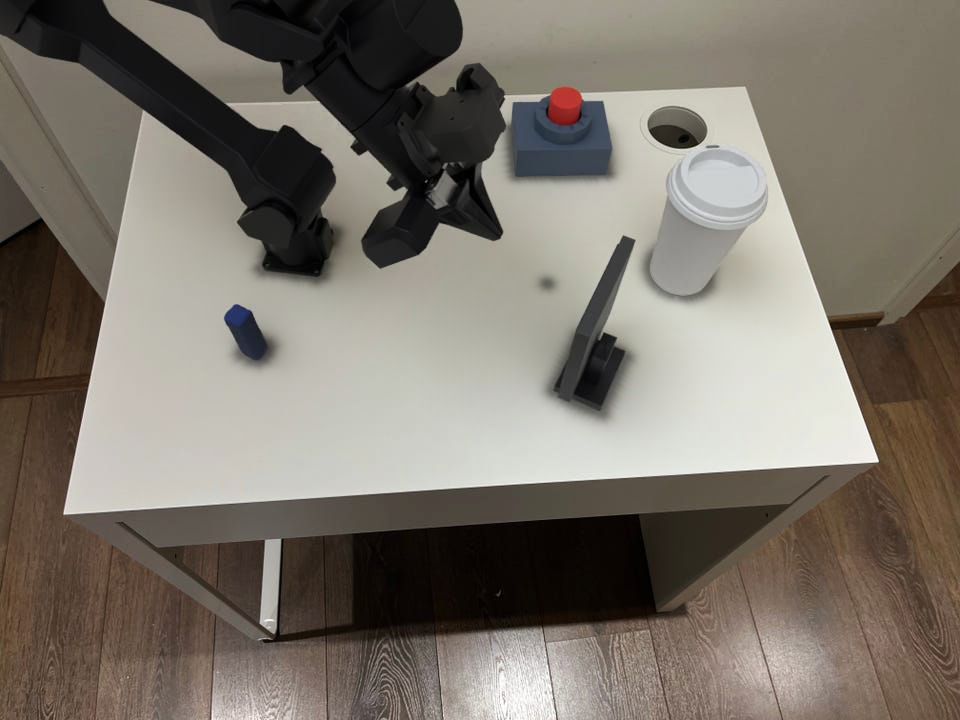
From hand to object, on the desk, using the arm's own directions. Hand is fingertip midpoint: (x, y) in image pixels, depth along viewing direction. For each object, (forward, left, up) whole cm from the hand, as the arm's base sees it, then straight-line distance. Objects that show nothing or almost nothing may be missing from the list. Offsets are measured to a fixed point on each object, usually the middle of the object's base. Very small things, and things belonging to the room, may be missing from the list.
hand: (498, 237), depth 63 cm
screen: (+10, -5, -10) cm, 15 cm away
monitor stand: (+10, -5, -13) cm, 17 cm away
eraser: (-23, -8, -13) cm, 28 cm away
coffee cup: (+20, +9, -13) cm, 25 cm away
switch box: (+5, +25, -13) cm, 29 cm away
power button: (+5, +25, -7) cm, 26 cm away
